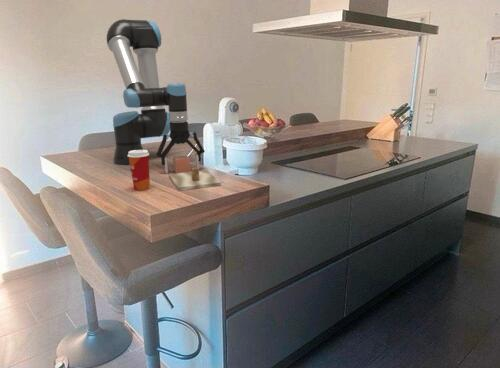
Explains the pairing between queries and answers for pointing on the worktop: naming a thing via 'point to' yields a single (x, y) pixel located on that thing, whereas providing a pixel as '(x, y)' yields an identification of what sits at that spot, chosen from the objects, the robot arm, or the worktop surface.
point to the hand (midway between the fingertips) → (182, 170)
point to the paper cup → (139, 169)
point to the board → (189, 184)
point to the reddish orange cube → (181, 164)
